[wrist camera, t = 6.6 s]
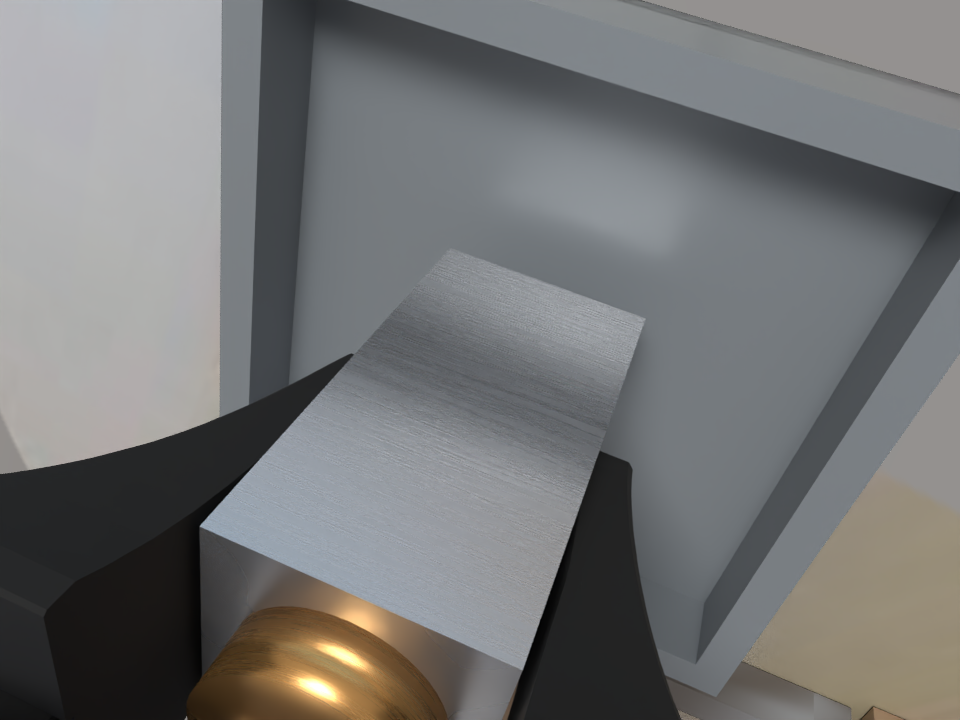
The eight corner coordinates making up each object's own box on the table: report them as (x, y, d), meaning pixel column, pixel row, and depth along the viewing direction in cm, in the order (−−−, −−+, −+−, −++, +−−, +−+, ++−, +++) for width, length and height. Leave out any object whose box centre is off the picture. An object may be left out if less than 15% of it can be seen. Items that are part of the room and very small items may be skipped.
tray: (1046, 119, 13) (1090, 169, 11) (725, 616, 21) (715, 697, 19) (300, -101, 15) (222, -93, 13) (270, 427, 23) (219, 481, 21)
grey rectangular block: (645, 318, 15) (492, 754, 8) (586, 468, 17) (427, 908, 10) (449, 247, 15) (140, 590, 8) (419, 401, 18) (157, 771, 11)
